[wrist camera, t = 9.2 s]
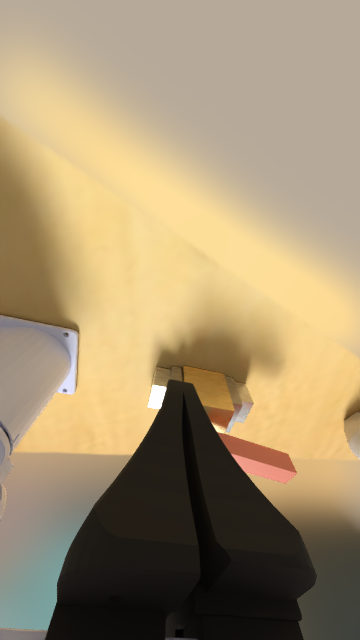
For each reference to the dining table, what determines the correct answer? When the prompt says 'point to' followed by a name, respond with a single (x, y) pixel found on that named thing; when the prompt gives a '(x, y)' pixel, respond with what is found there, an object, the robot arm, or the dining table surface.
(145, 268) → the dining table surface
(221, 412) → the valve base
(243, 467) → the lever
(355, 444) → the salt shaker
